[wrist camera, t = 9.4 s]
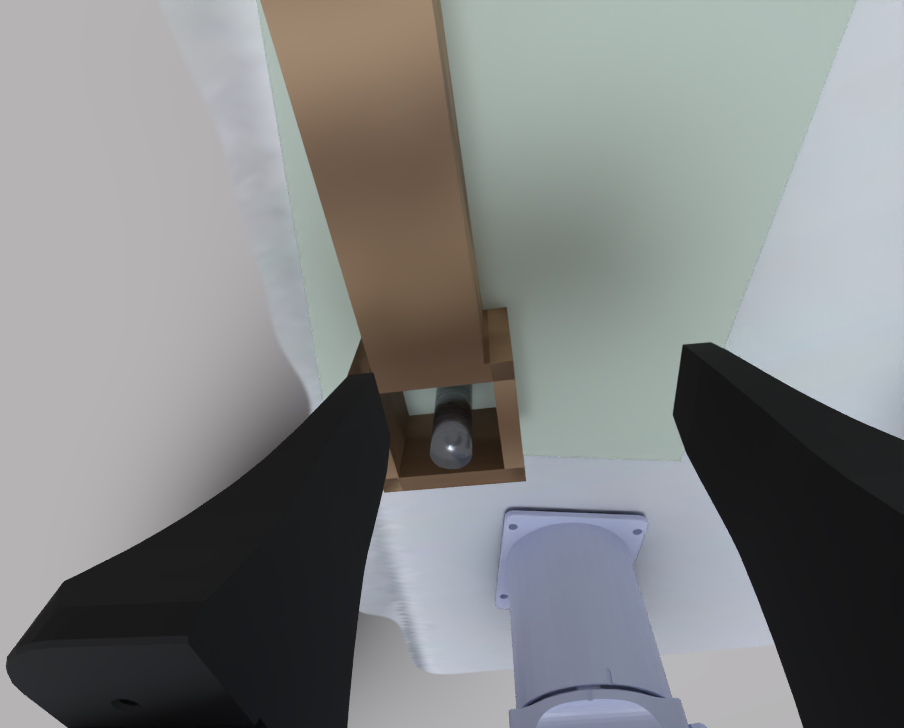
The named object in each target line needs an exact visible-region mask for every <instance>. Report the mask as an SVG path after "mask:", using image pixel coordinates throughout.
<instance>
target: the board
mask: <svg viewBox="0 0 904 728" xmlns="http://www.w3.org/2000/svg"><path fill="white" fill-rule="evenodd" d="M856 1H857V0H440V2H441V10H442V17H443V24H444V32H445V39H446V46H447V54H448V61H449V68H450V75H451V83H452V90H453V97H454V105H455V112H456V119H457V127H458V134H459V141H460V148H461V156H462V163H463V170H464V178H465V185H466V192H467V200H468V207H469V214H470V221H471V229H472V236H473V243H474V251H475V258H476V265H477V273H478V280H479V287H480V294H481V302H482V309H483V310H488V309H496V308H504V307H507V313H508V322H509V330H510V338H511V346H512V355H513V363H514V373H515V382H516V392H517V401H518V411H519V420H520V430H521V439H522V449H523V456H548V457H575V458H603V459H630V460H657V461H681V459H682V456H683V453H684V451H685V448H684V446H683V443H682V440H681V438H680V435H679V432H678V429H677V426H676V423H675V421H674V418H673V408H674V401H675V394H676V387H677V380H678V373H679V366H680V359H681V352H682V345H684V344H695V343H706V342H712V343H714V344H716V345H718V346H720V347H722V348H724V346H725V344H726V341H727V338H728V336H729V333H730V331H731V328H732V325H733V323H734V320H735V317H736V315H737V312H738V310H739V307H740V304H741V302H742V299H743V297H744V294H745V291H746V289H747V286H748V284H749V281H750V278H751V276H752V273H753V270H754V268H755V265H756V263H757V260H758V257H759V255H760V252H761V250H762V247H763V244H764V242H765V239H766V236H767V234H768V231H769V229H770V226H771V223H772V221H773V218H774V216H775V213H776V210H777V208H778V205H779V203H780V200H781V197H782V195H783V192H784V189H785V187H786V184H787V182H788V179H789V176H790V174H791V171H792V169H793V166H794V163H795V161H796V158H797V155H798V153H799V150H800V148H801V145H802V142H803V140H804V137H805V135H806V132H807V129H808V127H809V124H810V122H811V119H812V116H813V114H814V111H815V108H816V106H817V103H818V101H819V98H820V95H821V93H822V90H823V88H824V85H825V82H826V80H827V77H828V74H829V72H830V69H831V67H832V64H833V61H834V59H835V56H836V54H837V51H838V48H839V46H840V43H841V41H842V38H843V35H844V33H845V30H846V27H847V25H848V22H849V20H850V17H851V14H852V12H853V9H854V7H855V4H856ZM257 7H258V13H259V19H260V25H261V31H262V37H263V43H264V49H265V55H266V61H267V67H268V73H269V79H270V85H271V91H272V97H273V103H274V109H275V115H276V121H277V127H278V133H279V139H280V145H281V151H282V157H283V163H284V169H285V175H286V181H287V187H288V193H289V199H290V205H291V211H292V217H293V223H294V229H295V235H296V241H297V247H298V253H299V259H300V265H301V271H302V277H303V283H304V289H305V295H306V301H307V307H308V313H309V319H310V325H311V331H312V337H313V343H314V349H315V355H316V361H317V367H318V373H319V379H320V385H321V391H322V397H323V401H324V400H325V399H326V398H327V397H328V396H329V395H330V394H331V393H332V392H333V391H334V390H335V389H336V388H337V387H338V386H339V384H340V383H341V382H342V381H343V380H344V379H345V378H346V377H347V375H348V372H349V369H350V367H351V364H352V361H353V359H354V356H355V353H356V350H357V348H358V345H359V342H360V340H361V335H360V331H359V328H358V325H357V321H356V318H355V315H354V311H353V308H352V305H351V301H350V298H349V295H348V291H347V288H346V285H345V281H344V278H343V275H342V271H341V268H340V265H339V261H338V258H337V255H336V251H335V248H334V245H333V241H332V238H331V235H330V231H329V228H328V225H327V221H326V218H325V215H324V211H323V208H322V205H321V201H320V198H319V195H318V191H317V188H316V185H315V181H314V178H313V175H312V171H311V168H310V165H309V161H308V158H307V155H306V151H305V148H304V145H303V141H302V138H301V135H300V131H299V128H298V125H297V121H296V118H295V115H294V111H293V108H292V105H291V101H290V98H289V95H288V91H287V88H286V85H285V81H284V78H283V75H282V71H281V68H280V65H279V62H278V58H277V55H276V52H275V48H274V45H273V42H272V38H271V35H270V32H269V28H268V25H267V22H266V18H265V15H264V12H263V8H262V5H261V2H260V0H257ZM436 389H437V388H428V389H419V390H409V391H403V394H404V398H405V402H406V406H407V410H408V413H409V416H412V415H422V414H432V413H434V409H435V399H436ZM493 407H496V402H495V395H494V388H493V382H486V383H476V384H472V409H482V408H493Z"/></svg>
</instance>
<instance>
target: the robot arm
mask: <svg viewBox="0 0 904 728" xmlns="http://www.w3.org/2000/svg"><path fill="white" fill-rule="evenodd" d="M673 418H674V421H675V423H676V426H677V429H678V432H679V435H680V438H681V440H682V443H683V446H684V448H685V451H686V453H687V455H688V457H689V459H690V461H691V463H692V465H693V467H694V468H695V470H696V472H697V474H698V476H699V478H700V480H701V482H702V484H703V485H704V487H705V489H706V491H707V493H708V495H709V496H710V498H711V500H712V502H713V504H714V506H715V508H716V509H717V511H718V513H719V515H720V517H721V519H722V521H723V522H724V524H725V526H726V528H727V530H728V532H729V534H730V535H731V537H732V540H733V542H734V544H735V546H736V548H737V550H738V552H739V554H740V556H741V559H742V561H743V564H744V566H745V569H746V571H747V574H748V576H749V579H750V581H751V583H752V586H753V588H754V591H755V593H756V596H757V598H758V601H759V603H760V606H761V609H762V611H763V614H764V617H765V619H766V622H767V625H768V627H769V630H770V632H771V635H772V638H773V640H774V643H775V646H776V649H777V652H778V654H779V657H780V660H781V663H782V666H783V668H784V672H785V674H786V677H787V680H788V683H789V686H790V689H791V692H792V694H793V697H794V700H795V703H796V706H797V709H798V712H799V716H800V719H801V722H802V725H803V728H904V440H902V439H900V438H897V437H895V436H893V435H890V434H888V433H886V432H883V431H881V430H878V429H876V428H874V427H871V426H869V425H867V424H864V423H862V422H860V421H858V420H856V419H853V418H851V417H849V416H847V415H845V414H843V413H841V412H839V411H837V410H835V409H833V408H831V407H829V406H827V405H825V404H823V403H821V402H819V401H817V400H815V399H813V398H811V397H809V396H807V395H805V394H803V393H801V392H799V391H798V390H796V389H794V388H792V387H790V386H788V385H787V384H785V383H783V382H781V381H779V380H778V379H776V378H774V377H772V376H771V375H769V374H767V373H765V372H764V371H762V370H760V369H758V368H757V367H755V366H753V365H752V364H750V363H748V362H746V361H745V360H743V359H741V358H740V357H738V356H736V355H734V354H733V353H731V352H729V351H727V350H725V349H724V348H722V347H720V346H718V345H716V344H714V343H712V342H706V343H695V344H684V345H682V352H681V359H680V366H679V373H678V380H677V387H676V394H675V401H674V408H673ZM390 438H391V436H390V432H389V428H388V424H387V421H386V417H385V413H384V409H383V406H382V402H381V398H380V394H379V391H378V387H377V383H376V379H375V376H374V372H373V373H362V374H351V375H349V376H348V377H346V378H345V379H344V380H343V381H342V382H341V383H340V384H339V386H338V387H337V388H336V389H335V390H334V391H333V392H332V393H331V394H330V395H329V396H328V397H327V398H326V399H325V400H324V401H323V403H322V404H321V405H320V406H319V407H318V408H317V409H316V410H315V411H314V412H313V413H312V414H311V415H310V416H309V417H308V418H307V419H306V420H305V421H304V422H303V423H302V424H301V425H300V426H299V427H298V428H297V429H296V430H295V431H294V432H293V433H292V434H291V435H289V437H287V438H286V439H285V440H284V441H283V442H282V443H281V444H280V445H279V446H278V447H277V448H276V449H275V450H273V451H272V452H271V453H270V454H269V455H268V456H267V457H266V458H265V459H264V460H262V461H261V462H260V463H258V464H257V465H256V466H255V467H254V468H252V469H251V470H250V471H249V472H247V473H246V474H245V475H243V476H242V477H241V478H240V479H238V480H237V481H236V482H234V483H233V484H232V485H230V486H229V487H228V488H226V489H225V490H223V491H222V492H220V493H219V494H217V495H216V496H215V497H213V498H212V499H210V500H209V501H207V502H206V503H204V504H203V505H201V506H200V507H198V508H197V509H195V510H194V511H192V512H191V513H189V514H188V515H186V516H185V517H183V518H181V519H180V520H178V521H177V522H175V523H173V524H172V525H170V526H168V527H167V528H165V529H163V530H162V531H160V532H158V533H156V534H155V535H153V536H151V537H150V538H148V539H146V540H144V541H143V542H141V543H139V544H137V545H135V546H133V547H131V548H130V549H128V550H126V551H124V552H122V553H120V554H118V555H116V556H114V557H112V558H110V559H109V560H106V561H104V562H102V563H100V564H98V565H96V566H94V567H92V568H90V569H88V570H86V571H85V572H83V573H80V574H78V575H77V576H74V577H72V578H70V579H68V580H66V581H64V582H63V583H62V584H61V586H60V587H59V589H58V590H57V591H56V593H55V594H54V595H53V597H52V598H51V599H50V601H49V602H48V604H47V605H46V606H45V607H44V609H43V610H42V611H41V612H40V614H39V615H38V616H37V618H36V619H35V621H34V622H33V623H32V624H31V626H30V627H29V629H28V630H27V631H26V633H25V634H24V635H23V636H22V638H21V639H20V640H19V642H18V643H17V645H16V646H15V647H14V648H13V650H12V651H11V652H10V654H9V655H8V656H7V662H6V669H7V673H8V675H9V677H10V679H11V681H12V683H13V684H14V685H15V686H16V687H17V688H18V689H19V690H20V691H21V692H22V693H23V694H24V695H26V696H27V697H28V698H30V699H31V700H33V701H34V702H35V703H36V704H38V705H39V706H40V707H41V708H43V709H44V710H46V711H47V712H48V713H49V714H51V715H52V716H53V717H54V718H56V719H57V720H58V721H60V722H61V723H62V724H64V725H65V726H66V727H68V728H347V724H348V711H349V699H350V689H351V677H352V667H353V657H354V647H355V639H356V630H357V621H358V613H359V605H360V598H361V590H362V583H363V576H364V569H365V564H366V559H367V554H368V550H369V546H370V542H371V537H372V533H373V529H374V525H375V521H376V517H377V513H378V509H379V505H380V500H381V496H382V492H383V488H384V483H385V479H386V475H387V468H388V459H389V449H390ZM647 527H648V522H647V519H646V517H644V516H641V515H622V514H597V513H571V512H546V511H520V510H511V511H508V512H507V513H506V514H505V517H504V526H503V535H502V543H501V552H500V561H499V570H498V578H497V587H496V596H495V605H496V607H497V608H500V609H510V615H511V631H512V647H513V662H514V678H515V694H516V709H511V710H509V724H510V728H707V727H706V726H705V725H704V724H702V723H694V724H689V725H688V723H687V719H686V716H685V713H684V710H683V707H682V703H681V700H680V699H679V698H672V695H671V692H670V688H669V686H668V682H667V679H666V675H665V672H664V668H663V665H662V662H661V659H660V655H659V652H658V648H657V645H656V642H655V638H654V635H653V632H652V628H651V625H650V622H649V618H648V615H647V612H646V608H645V605H644V601H643V598H642V595H641V591H640V588H639V585H638V581H637V578H636V575H635V571H634V568H633V565H634V563H635V560H636V557H637V555H638V552H639V549H640V546H641V544H642V541H643V538H644V536H645V533H646V530H647Z"/></svg>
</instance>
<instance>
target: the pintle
mask: <svg viewBox="0 0 904 728" xmlns="http://www.w3.org/2000/svg"><path fill="white" fill-rule="evenodd" d="M430 457H431V459H432V461H433V462H434V463H435V464H436V465H438V466H439V467H442V468H445V469H459V468H462V467H464V466H466V465H467V464H468V463H469V462H470V460H471V458H472V384H467V385H457V386H447V387H438V388H437V389H436V399H435V409H434V418H433V428H432V437H431V447H430Z"/></svg>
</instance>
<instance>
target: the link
mask: <svg viewBox="0 0 904 728" xmlns="http://www.w3.org/2000/svg"><path fill="white" fill-rule="evenodd" d="M260 2H261V5H262V8H263V12H264V15H265V18H266V22H267V25H268V28H269V32H270V35H271V38H272V42H273V45H274V48H275V52H276V55H277V58H278V62H279V65H280V68H281V71H282V75H283V78H284V81H285V85H286V88H287V91H288V95H289V98H290V101H291V105H292V108H293V111H294V115H295V118H296V121H297V125H298V128H299V131H300V135H301V138H302V141H303V145H304V148H305V151H306V155H307V158H308V161H309V165H310V168H311V171H312V175H313V178H314V181H315V185H316V188H317V191H318V195H319V198H320V201H321V205H322V208H323V211H324V215H325V218H326V221H327V225H328V228H329V231H330V235H331V238H332V241H333V245H334V248H335V251H336V255H337V258H338V261H339V265H340V268H341V271H342V275H343V278H344V281H345V285H346V288H347V291H348V295H349V298H350V301H351V305H352V308H353V311H354V315H355V318H356V321H357V325H358V328H359V331H360V335H361V340H360V342H359V345H358V348H357V350H356V353H355V356H354V359H353V361H352V364H351V367H350V369H349V372H348V375H347V377H348V376H349V375H351V374H362V373H373V372H374V376H375V379H376V383H377V387H378V391H379V394H380V398H381V402H382V406H383V409H384V413H385V417H386V421H387V424H388V428H389V432H390V436H391V438H390V449H389V459H388V468H387V475H386V479H385V483H384V488H383V490H384V492H397V491H409V490H422V489H434V488H446V487H459V486H471V485H484V484H496V483H508V482H521V481H526V477H525V468H524V458H523V449H522V439H521V430H520V420H519V411H518V401H517V392H516V382H515V373H514V363H513V355H512V346H511V338H510V330H509V322H508V313H507V307H504V308H496V309H488V310H483V309H482V302H481V294H480V287H479V280H478V273H477V265H476V258H475V251H474V243H473V236H472V229H471V221H470V214H469V207H468V200H467V192H466V185H465V178H464V170H463V163H462V156H461V148H460V141H459V134H458V127H457V119H456V112H455V105H454V97H453V90H452V83H451V75H450V68H449V61H448V54H447V46H446V39H445V32H444V24H443V17H442V10H441V2H440V0H260ZM486 382H493V388H494V395H495V402H496V407H493V408H482V409H472V458H471V460H470V462H469V463H468V464H467V465H466V466H464V467H462V468H459V469H445V468H442V467H439V466H438V465H436V464H435V463H434V462H433V461H432V459H431V457H430V447H431V437H432V428H433V418H434V413H432V414H422V415H412V416H409V413H408V410H407V406H406V402H405V398H404V394H403V391H409V390H419V389H428V388H438V387H447V386H457V385H467V384H476V383H486Z"/></svg>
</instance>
